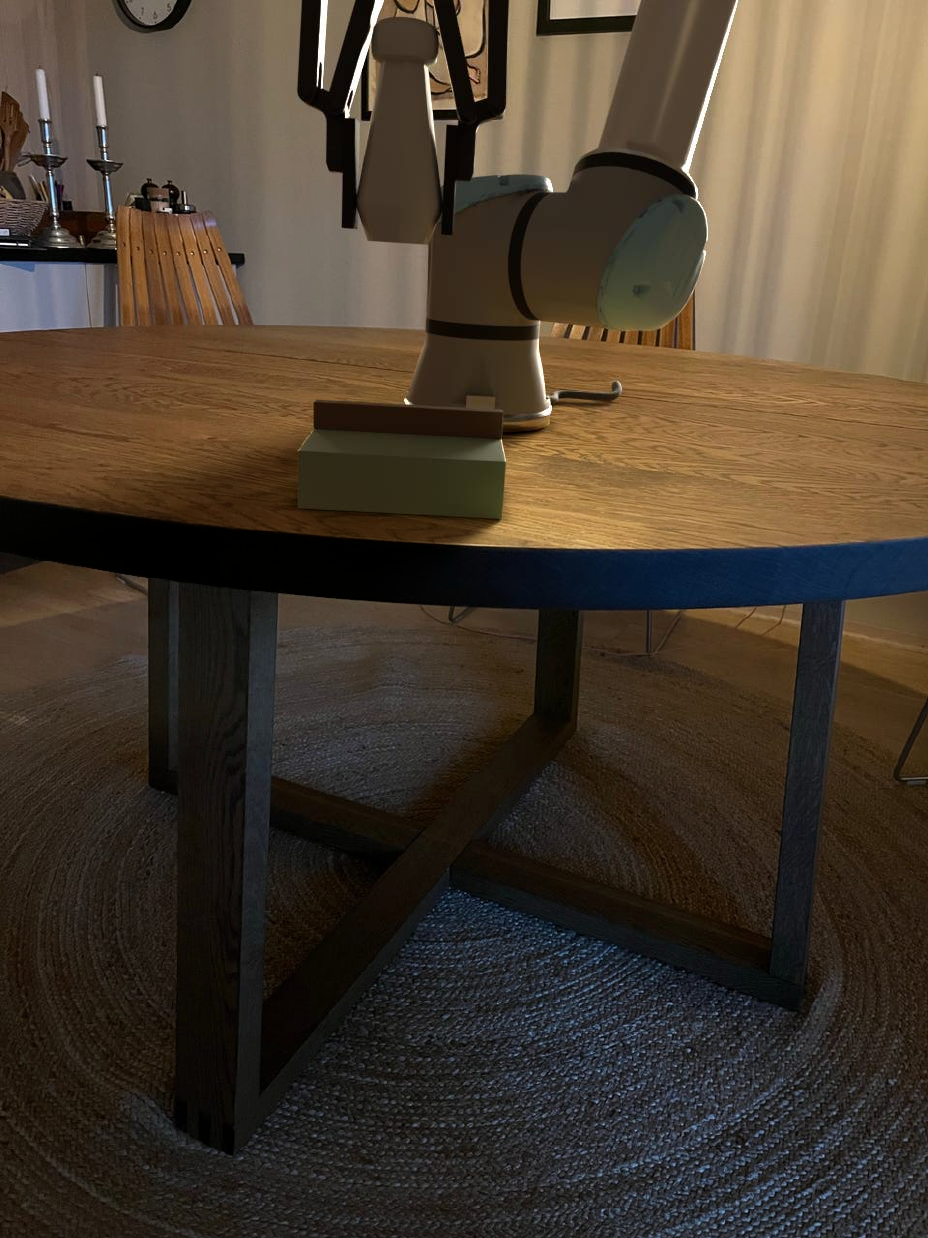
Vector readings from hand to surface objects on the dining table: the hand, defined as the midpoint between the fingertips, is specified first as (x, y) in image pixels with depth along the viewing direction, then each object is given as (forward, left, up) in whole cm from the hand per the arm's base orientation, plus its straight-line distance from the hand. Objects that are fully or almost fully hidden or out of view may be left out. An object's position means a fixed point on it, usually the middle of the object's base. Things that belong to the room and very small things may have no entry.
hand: (398, 230), depth 66 cm
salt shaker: (0, 0, -1) cm, 1 cm away
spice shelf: (0, +1, -18) cm, 18 cm away
